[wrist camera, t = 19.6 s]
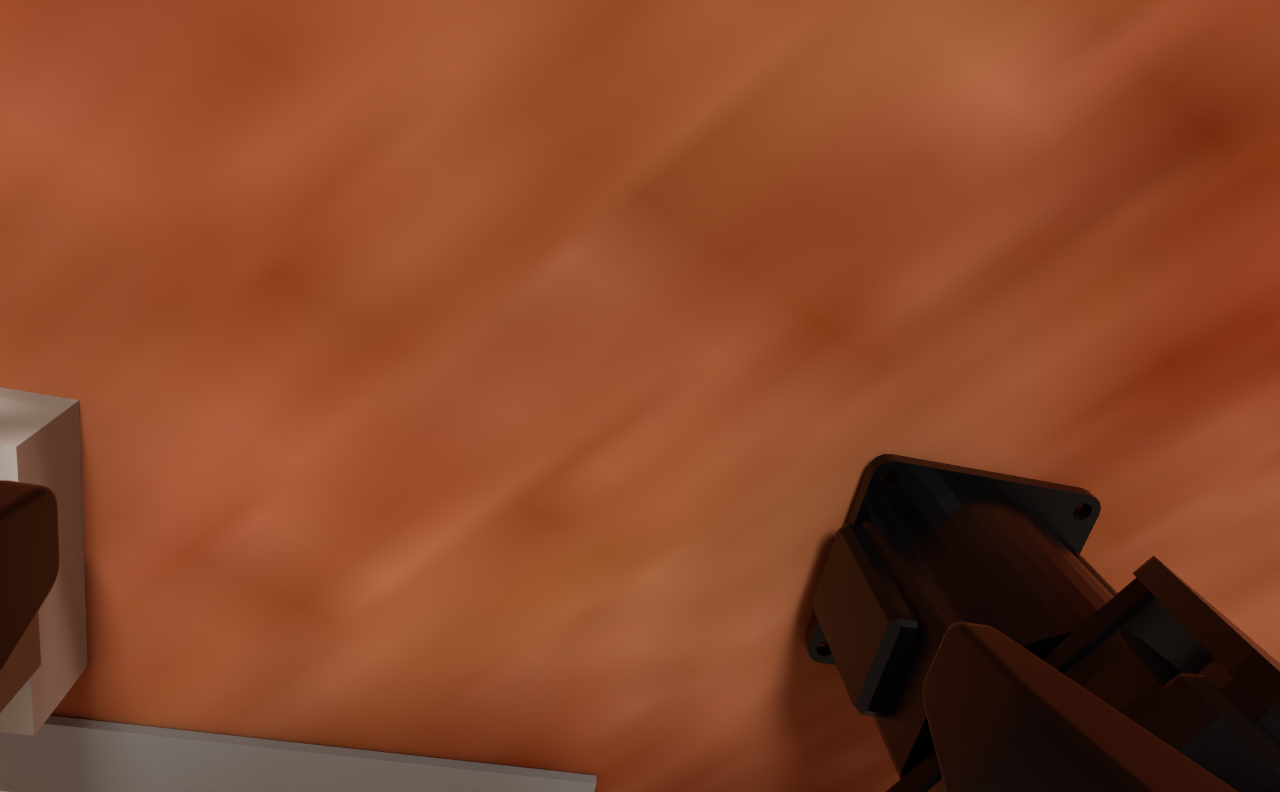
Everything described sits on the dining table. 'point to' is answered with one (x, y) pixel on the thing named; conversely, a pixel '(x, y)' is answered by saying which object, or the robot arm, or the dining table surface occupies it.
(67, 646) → the wood block grey top
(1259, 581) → the dining table surface
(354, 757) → the board
